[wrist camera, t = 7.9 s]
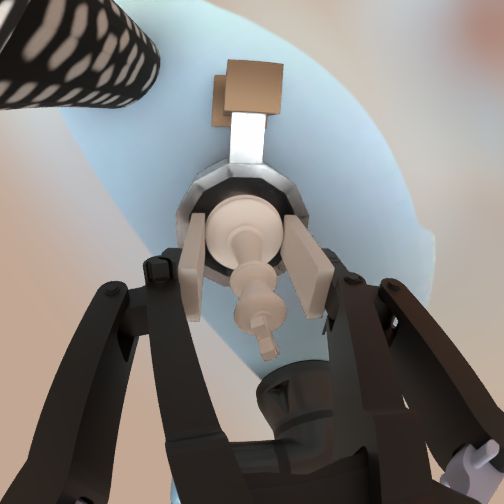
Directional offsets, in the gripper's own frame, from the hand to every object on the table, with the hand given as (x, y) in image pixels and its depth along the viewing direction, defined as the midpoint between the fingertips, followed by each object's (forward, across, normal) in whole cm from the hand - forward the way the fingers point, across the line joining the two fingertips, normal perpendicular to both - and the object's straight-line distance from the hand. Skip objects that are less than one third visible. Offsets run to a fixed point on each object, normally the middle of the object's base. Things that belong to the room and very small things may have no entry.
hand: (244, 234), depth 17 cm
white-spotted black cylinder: (+11, -12, +13) cm, 21 cm away
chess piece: (+1, 0, 0) cm, 1 cm away
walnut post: (+11, 0, +9) cm, 14 cm away
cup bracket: (+4, 0, +2) cm, 5 cm away
